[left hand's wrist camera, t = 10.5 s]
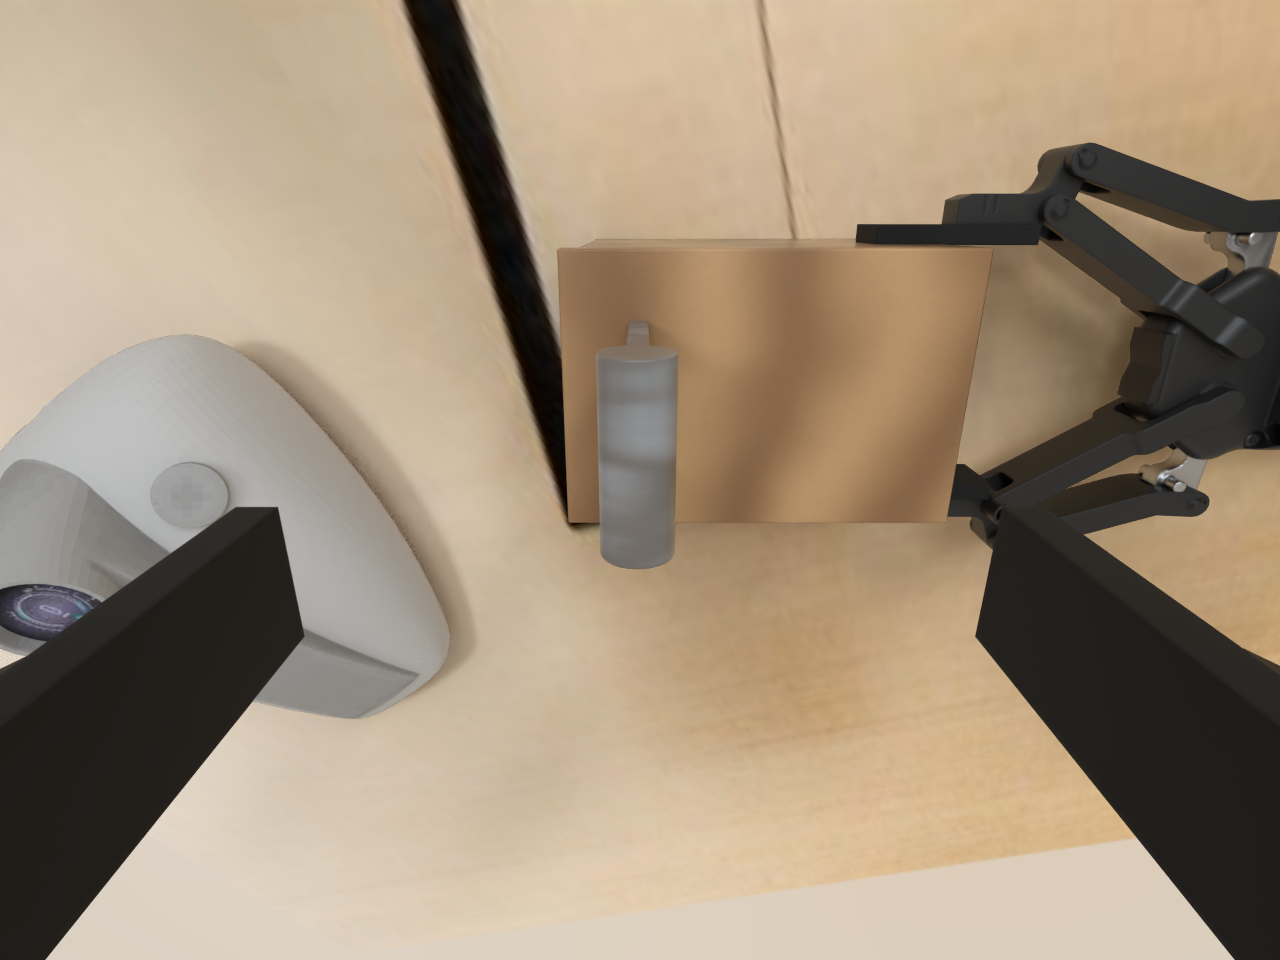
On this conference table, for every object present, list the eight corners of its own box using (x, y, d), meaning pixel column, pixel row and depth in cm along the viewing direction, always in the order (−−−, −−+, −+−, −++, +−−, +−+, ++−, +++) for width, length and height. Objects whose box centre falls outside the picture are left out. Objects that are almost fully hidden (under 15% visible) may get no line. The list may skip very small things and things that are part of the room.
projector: (109, 669, 44) (-131, 873, 30) (28, 304, 36) (-352, 357, 22) (456, 695, 44) (375, 906, 31) (454, 343, 36) (343, 418, 23)
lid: (570, 513, 28) (540, 640, 20) (559, 247, 24) (516, 262, 16) (937, 513, 28) (1064, 640, 20) (982, 247, 24) (1162, 262, 16)
